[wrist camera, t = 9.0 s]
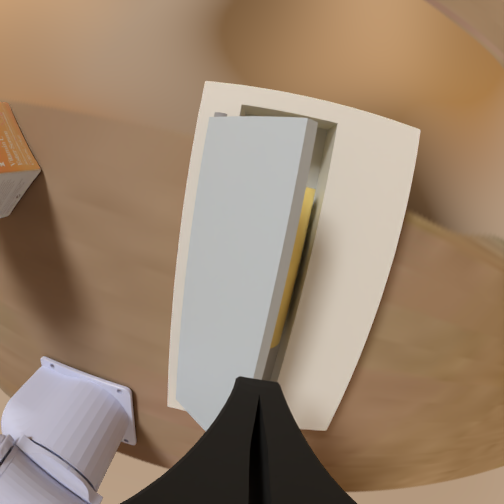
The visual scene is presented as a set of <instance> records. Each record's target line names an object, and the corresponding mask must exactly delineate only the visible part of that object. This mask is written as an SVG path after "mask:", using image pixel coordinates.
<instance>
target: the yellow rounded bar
mask: <svg viewBox="0 0 504 504" xmlns="http://www.w3.org/2000/svg"><path fill="white" fill-rule="evenodd" d="M315 191H316V189H313V188H310V187H306V190H305V195H304V200H303V205H302V209H301V214H300V219H299V224H298V229H297V233H296V238H295V243H294V247H293V252H292V256H291V261H290V265H289V270H288V274H287V279H286V283H285V287H284V292H283V296H282V300H281V305H280V309H279V313H278V317H277V321H276V325H275V329H274V334H273V338H272V342H271V346H270V348H273V347H275V346H277V345H278V344H279V342H280V339H281V335H282V331H283V328H284V324H285V320H286V316H287V312H288V308H289V304H290V300H291V296H292V292H293V288H294V284H295V280H296V276H297V272H298V267H299V263H300V259H301V255H302V250H303V246H304V242H305V237H306V233H307V228H308V224H309V219H310V214H311V210H312V205H313V200H314V196H315Z"/></svg>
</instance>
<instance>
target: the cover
mask: <svg viewBox="0 0 504 504" xmlns="http://www.w3.org/2000/svg"><path fill="white" fill-rule="evenodd" d="M317 126H318V122H315V121H313V120H311V119H309V118H298V117H270V116H227V114H226V113H221V112H215V113H214V117H209V122H208V127H207V133H206V138H205V144H204V149H203V155H202V161H201V167H200V173H199V179H198V186H197V192H196V199H195V206H194V213H193V220H192V227H191V235H190V243H189V251H188V259H187V267H186V276H185V285H184V295H183V305H182V316H181V327H180V340H179V353H178V368H177V384H176V400H177V401H178V402H179V403H180V404H181V405H182V407H183V408H184V409H185V410H186V411H187V412H188V413H189V414H190V415H191V416H192V418H193V419H194V420H195V421H196V422H197V423H198V424H199V425H200V426H201V427H202V428H203V429H204V430H205V431H207V429H208V428H209V427H210V426H211V424H212V423H213V422H214V420H215V419H216V417H217V416H218V414H219V413H220V411H221V410H222V408H223V406H224V405H225V403H226V401H227V399H228V398H229V396H230V394H231V392H232V389H233V387H234V384H235V380H236V378H237V377H239V376H242V377H247V378H253V379H260V380H262V377H263V373H264V369H265V365H266V361H267V358H268V354H269V350H270V346H271V342H272V338H273V334H274V329H275V325H276V321H277V317H278V313H279V309H280V305H281V300H282V296H283V292H284V287H285V283H286V279H287V274H288V270H289V265H290V261H291V256H292V252H293V247H294V243H295V238H296V233H297V229H298V224H299V219H300V214H301V209H302V205H303V200H304V195H305V190H306V185H307V180H308V174H309V169H310V164H311V159H312V153H313V148H314V143H315V137H316V132H317Z"/></svg>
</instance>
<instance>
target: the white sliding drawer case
mask: <svg viewBox="0 0 504 504" xmlns="http://www.w3.org/2000/svg"><path fill="white" fill-rule="evenodd" d="M215 112H221V113H226V114H227V116H270V117H298V118H309V119H311V120H313V121H315V122H318V126H317V132H316V137H315V143H314V148H313V153H312V159H311V164H310V169H309V174H308V180H307V185H306V187H310V188H313V189H316V191H315V196H314V200H313V205H312V210H311V214H310V219H309V224H308V228H307V233H306V237H305V242H304V246H303V250H302V255H301V259H300V263H299V267H298V272H297V276H296V280H295V284H294V288H293V292H292V296H291V300H290V304H289V308H288V312H287V316H286V320H285V324H284V328H283V331H282V335H281V339H280V342H279V344H278V345H277V346H275V347H273V348H270V350H269V354H268V358H267V361H266V365H265V369H264V373H263V377H262V380H266V381H273V382H278V383H279V384H280V386H281V389H282V392H283V394H284V397H285V399H286V402H287V404H288V406H289V409H290V411H291V413H292V415H293V417H294V419H295V421H296V423H297V425H298V427H299V429H306V430H321V431H326V430H327V428H328V426H329V424H330V422H331V420H332V418H333V416H334V414H335V412H336V410H337V408H338V405H339V403H340V401H341V399H342V397H343V395H344V392H345V390H346V388H347V386H348V383H349V381H350V379H351V377H352V374H353V372H354V370H355V367H356V365H357V362H358V360H359V357H360V355H361V352H362V350H363V347H364V345H365V342H366V340H367V337H368V334H369V332H370V329H371V326H372V323H373V321H374V318H375V315H376V312H377V309H378V306H379V303H380V300H381V297H382V294H383V291H384V288H385V285H386V282H387V278H388V275H389V272H390V269H391V265H392V262H393V258H394V255H395V251H396V247H397V244H398V240H399V236H400V232H401V228H402V224H403V220H404V216H405V212H406V207H407V202H408V198H409V193H410V189H411V184H412V179H413V173H414V168H415V162H416V156H417V150H418V144H419V137H420V129H417V128H414V127H411V126H409V125H406V124H403V123H400V122H397V121H394V120H391V119H388V118H385V117H382V116H379V115H376V114H372V113H369V112H366V111H362V110H359V109H355V108H352V107H348V106H344V105H340V104H336V103H333V102H328V101H324V100H320V99H316V98H311V97H307V96H302V95H297V94H292V93H287V92H282V91H277V90H271V89H264V88H259V87H252V86H245V85H237V84H229V83H221V82H211V81H205V85H204V90H203V95H202V100H201V105H200V110H199V115H198V120H197V125H196V131H195V136H194V142H193V147H192V153H191V159H190V165H189V172H188V178H187V185H186V191H185V198H184V206H183V213H182V220H181V228H180V237H179V245H178V254H177V263H176V273H175V283H174V294H173V306H172V320H171V334H170V351H169V373H168V407H172V408H176V409H180V410H184V411H186V410H185V409H184V408H183V407H182V405H181V404H180V403H179V402H178V401H177V400H176V384H177V368H178V353H179V340H180V327H181V316H182V305H183V295H184V285H185V276H186V267H187V259H188V251H189V243H190V235H191V227H192V220H193V213H194V206H195V199H196V192H197V186H198V179H199V173H200V167H201V161H202V155H203V149H204V144H205V138H206V133H207V127H208V122H209V117H214V113H215Z"/></svg>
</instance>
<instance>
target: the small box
mask: <svg viewBox="0 0 504 504" xmlns="http://www.w3.org/2000/svg"><path fill="white" fill-rule="evenodd" d="M40 171H41V169H40V167H39V165H38V163H37V162H36V160H35V158H34V157H33V155H32V153H31V151H30V149H29V147H28V145H27V143H26V141H25V139H24V137H23V135H22V133H21V131H20V129H19V126H18V124H17V122H16V120H15V118H14V115H13V113H12V110H11V107H10V105H9V104H8V103H6V102H0V218H3V217H7V216H9V215H10V213H11V212H12V210H13V209H14V207H15V206H16V204H17V203H18V201H19V200H20V199H21V197H22V196H23V194H24V193H25V191H26V190H27V189H28V187H29V186H30V184H31V183H32V182H33V180H34V179H35V178H36V177H37V175H38V174H39V173H40Z"/></svg>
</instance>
